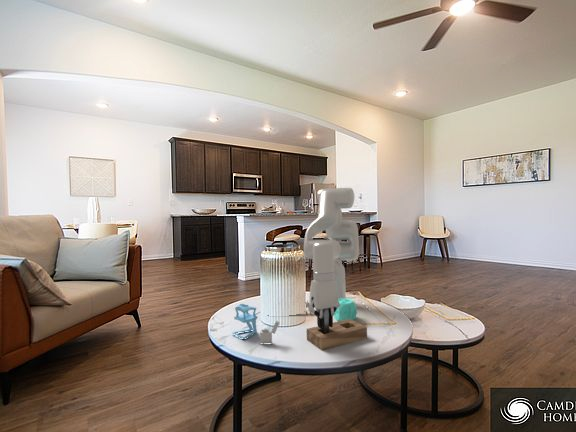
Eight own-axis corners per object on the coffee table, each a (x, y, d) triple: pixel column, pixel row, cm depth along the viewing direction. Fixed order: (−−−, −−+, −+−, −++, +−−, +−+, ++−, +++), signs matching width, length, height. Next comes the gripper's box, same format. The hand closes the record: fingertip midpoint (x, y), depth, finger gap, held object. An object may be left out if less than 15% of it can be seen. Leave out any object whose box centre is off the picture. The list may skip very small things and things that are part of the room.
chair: (260, 334, 117) (260, 303, 117) (243, 340, 111) (242, 308, 111) (249, 329, 122) (248, 299, 122) (231, 335, 117) (231, 304, 117)
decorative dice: (339, 323, 126) (339, 304, 126) (332, 317, 134) (332, 299, 134) (357, 321, 128) (356, 302, 128) (349, 315, 136) (348, 297, 135)
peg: (319, 334, 109) (319, 307, 109) (326, 333, 110) (325, 306, 110) (324, 337, 106) (323, 309, 106) (331, 335, 108) (330, 308, 107)
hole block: (306, 339, 111) (306, 328, 111) (350, 328, 119) (349, 318, 119) (321, 350, 102) (321, 338, 102) (367, 337, 111) (366, 327, 111)
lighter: (260, 344, 108) (259, 322, 108) (260, 342, 109) (260, 320, 109) (279, 344, 107) (279, 322, 107) (280, 342, 109) (279, 320, 109)
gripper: (336, 272, 115) (337, 319, 115) (299, 277, 108) (300, 328, 108) (348, 275, 108) (349, 326, 109) (309, 281, 101) (311, 335, 101)
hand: (325, 326), depth 108 cm, fingers closed on peg, 3 cm apart
